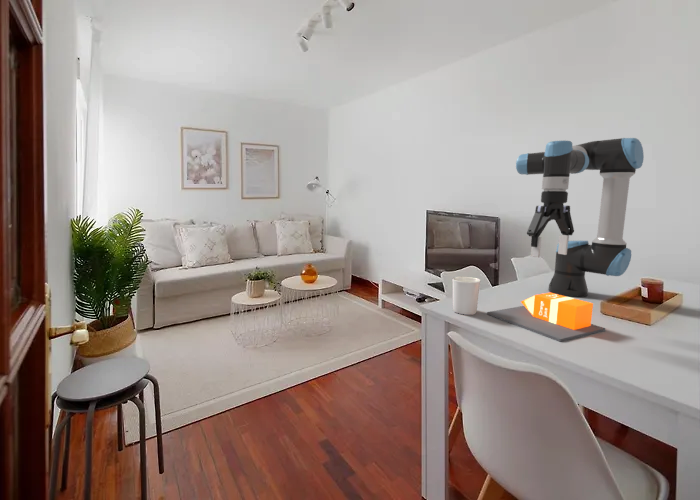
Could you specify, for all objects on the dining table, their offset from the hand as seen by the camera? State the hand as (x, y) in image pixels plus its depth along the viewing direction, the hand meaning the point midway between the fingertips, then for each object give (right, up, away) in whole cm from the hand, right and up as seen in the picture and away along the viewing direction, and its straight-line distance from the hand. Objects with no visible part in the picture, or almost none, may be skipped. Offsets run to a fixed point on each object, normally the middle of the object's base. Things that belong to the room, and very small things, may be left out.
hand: (548, 255), depth 125 cm
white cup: (-24, -21, +14) cm, 34 cm away
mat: (-1, -23, +3) cm, 23 cm away
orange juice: (+8, -19, -6) cm, 22 cm away
